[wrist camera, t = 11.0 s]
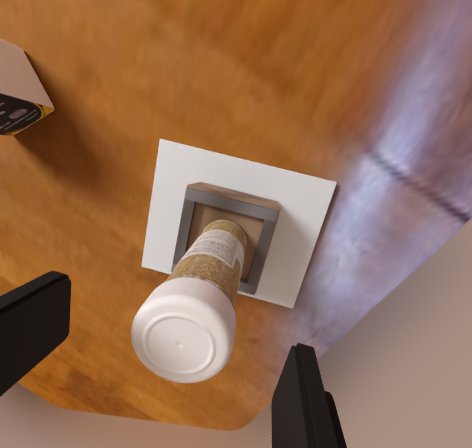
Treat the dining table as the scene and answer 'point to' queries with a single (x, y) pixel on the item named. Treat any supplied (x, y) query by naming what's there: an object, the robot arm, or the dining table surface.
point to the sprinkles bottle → (194, 309)
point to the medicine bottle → (19, 91)
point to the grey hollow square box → (235, 210)
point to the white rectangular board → (248, 181)
